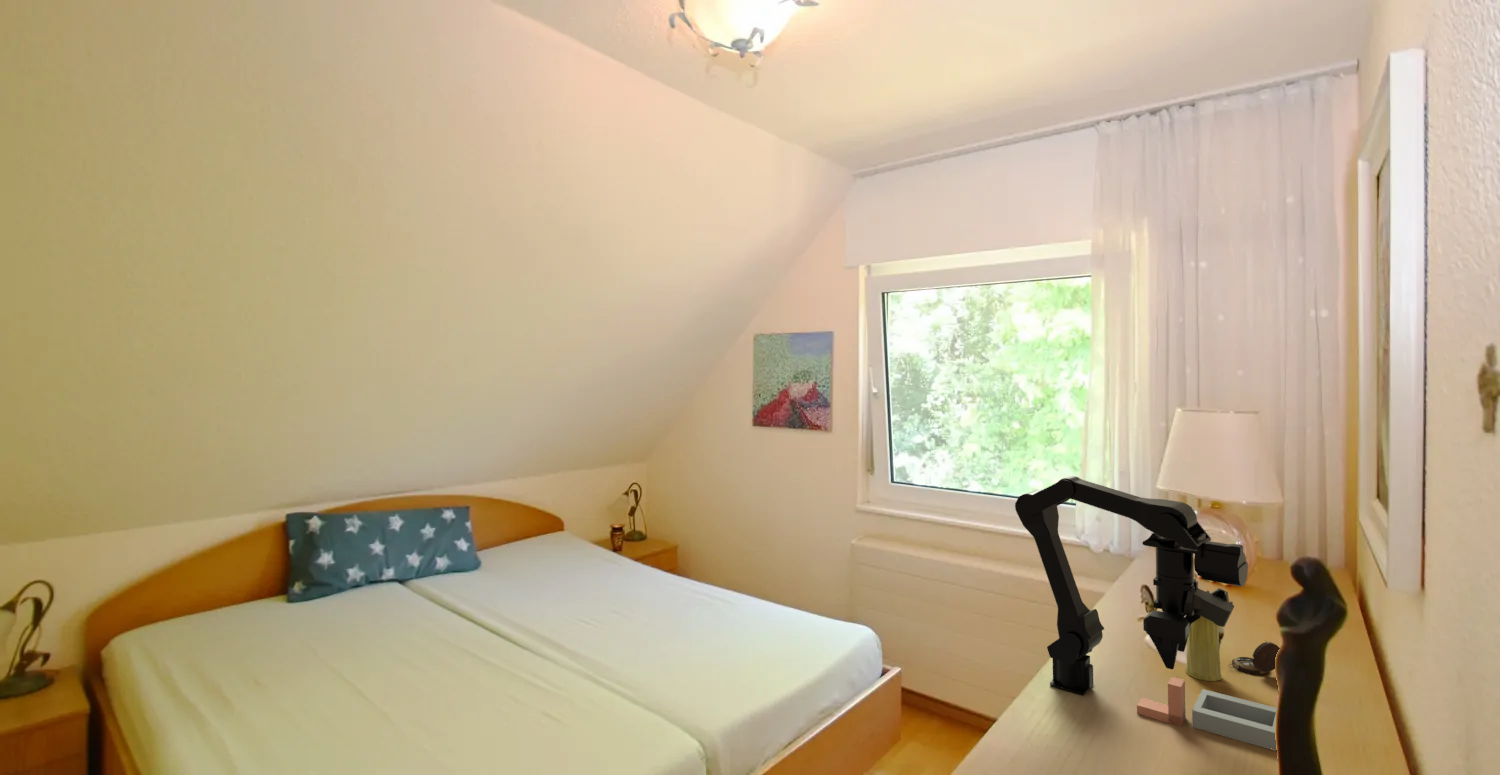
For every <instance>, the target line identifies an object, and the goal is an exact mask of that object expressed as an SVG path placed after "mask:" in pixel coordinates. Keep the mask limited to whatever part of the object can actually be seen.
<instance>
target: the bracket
mask: <svg viewBox="0 0 1500 775" xmlns="http://www.w3.org/2000/svg"><path fill="white" fill-rule="evenodd" d="M1167 702H1168V703H1167V704H1165V703H1161V702H1157V701H1155V700H1151V699H1148V698H1144V697H1141V698H1140V700H1139V701H1138V703H1137V704H1136V713H1137V714H1138V715H1141V716H1142V715H1143V716H1146V717H1149V718H1153V719H1155V720H1156V719H1157V720H1159V721H1162V722H1166V723H1169V724H1173V725H1177V726H1179V727H1183V724H1184V723H1185V721H1186V717H1187V716H1186V714H1187V713H1186V680H1185V679H1184V678H1183V679H1182V678H1180V677H1179V678H1178V677H1174V676H1171V678H1170V679H1169V680H1168V682H1167Z"/></svg>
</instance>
